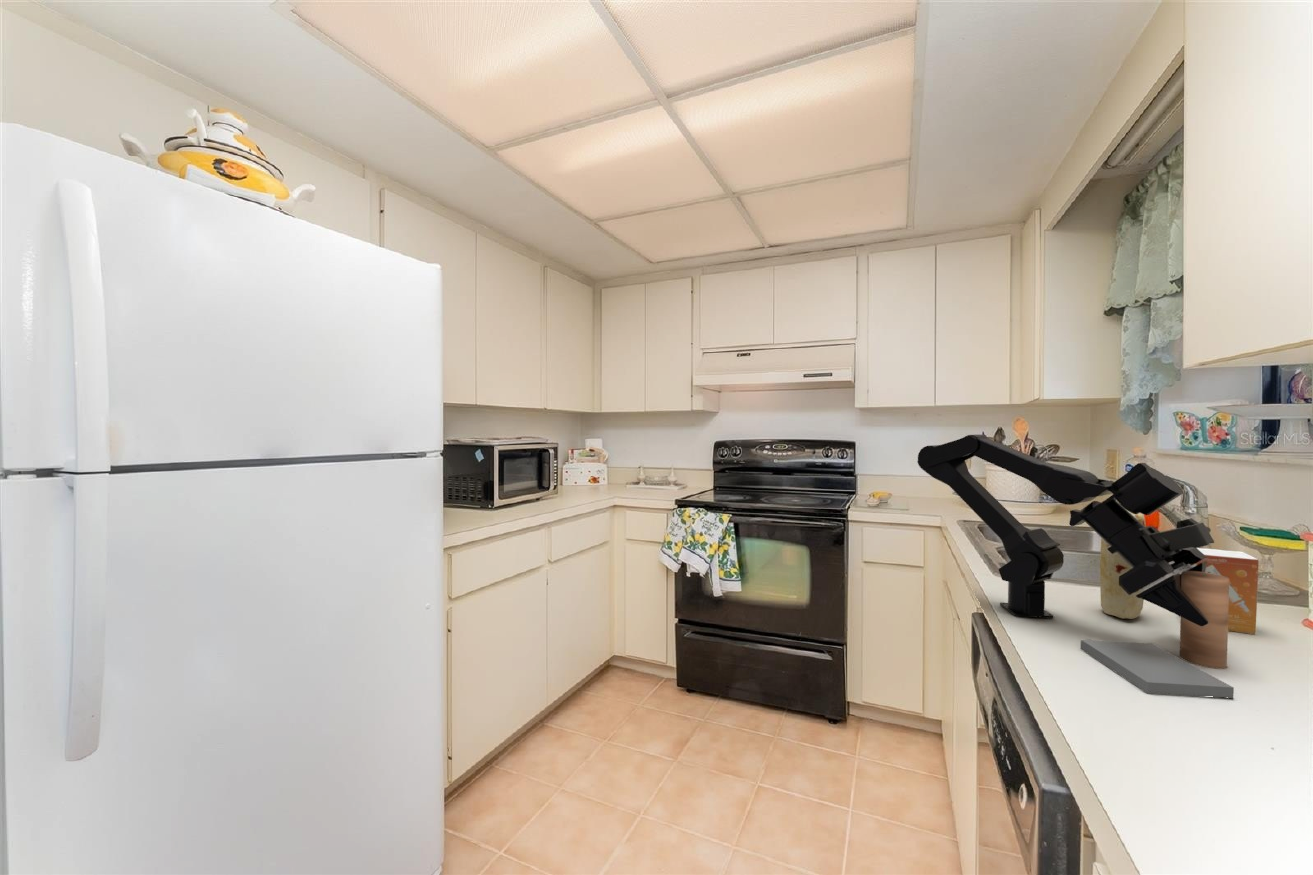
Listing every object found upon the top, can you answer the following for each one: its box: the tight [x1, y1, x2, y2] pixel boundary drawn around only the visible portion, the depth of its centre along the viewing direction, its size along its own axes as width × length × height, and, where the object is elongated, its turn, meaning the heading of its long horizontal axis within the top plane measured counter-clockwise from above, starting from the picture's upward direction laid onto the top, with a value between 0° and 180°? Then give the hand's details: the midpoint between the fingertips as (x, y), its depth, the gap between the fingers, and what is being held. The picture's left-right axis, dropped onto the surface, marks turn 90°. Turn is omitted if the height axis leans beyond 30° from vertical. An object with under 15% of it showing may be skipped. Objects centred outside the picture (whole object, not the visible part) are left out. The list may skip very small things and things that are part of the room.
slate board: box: [1080, 639, 1235, 699], centre depth 77 cm, size 14×10×2 cm
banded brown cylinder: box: [1179, 571, 1229, 669], centre depth 80 cm, size 5×5×13 cm
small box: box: [1196, 547, 1260, 635], centre depth 95 cm, size 8×6×13 cm
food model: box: [1099, 510, 1147, 620], centre depth 99 cm, size 10×7×20 cm
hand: (1215, 618), depth 79 cm, fingers open, 9 cm apart
